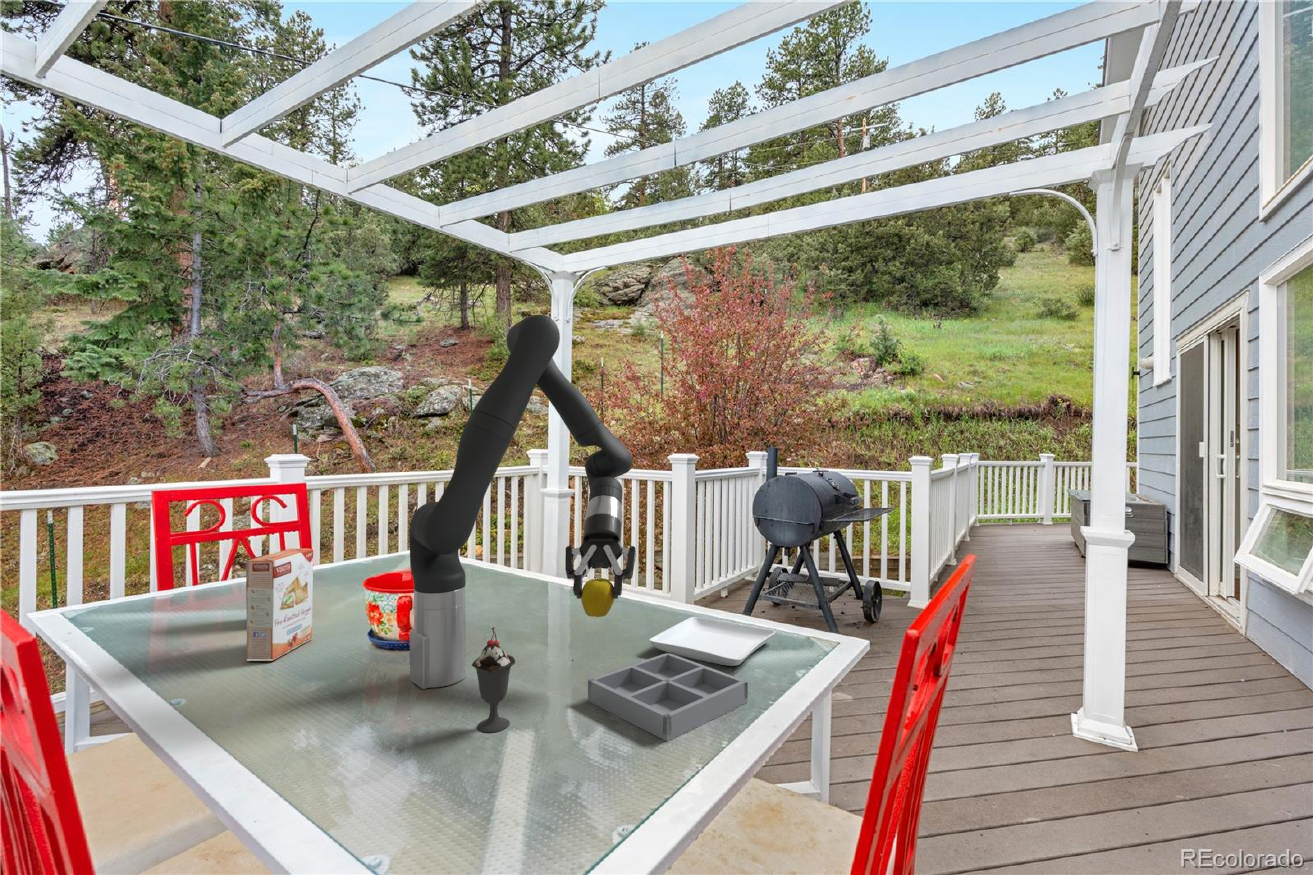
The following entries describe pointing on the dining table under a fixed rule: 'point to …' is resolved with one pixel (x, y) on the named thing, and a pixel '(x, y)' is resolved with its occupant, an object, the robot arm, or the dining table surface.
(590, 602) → the apple
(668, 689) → the tray
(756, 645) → the salad plate
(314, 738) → the dining table surface
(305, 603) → the cracker box
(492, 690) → the sundae
